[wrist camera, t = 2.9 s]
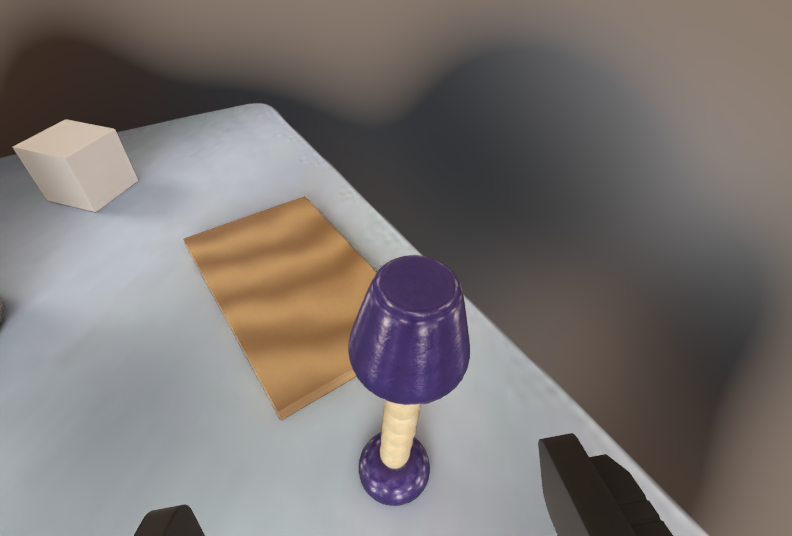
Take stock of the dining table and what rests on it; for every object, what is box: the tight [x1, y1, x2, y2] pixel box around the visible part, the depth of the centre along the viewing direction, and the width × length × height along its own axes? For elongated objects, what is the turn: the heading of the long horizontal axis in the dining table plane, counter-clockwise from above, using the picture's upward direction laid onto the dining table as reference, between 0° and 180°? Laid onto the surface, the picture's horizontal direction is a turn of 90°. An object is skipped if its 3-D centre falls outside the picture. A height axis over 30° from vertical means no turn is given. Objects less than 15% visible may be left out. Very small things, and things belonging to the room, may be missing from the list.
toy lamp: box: [348, 255, 470, 506], centre depth 20 cm, size 5×5×17 cm
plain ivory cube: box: [13, 120, 138, 212], centre depth 43 cm, size 6×6×6 cm
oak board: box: [183, 196, 377, 420], centre depth 36 cm, size 20×12×1 cm, turn 35°
